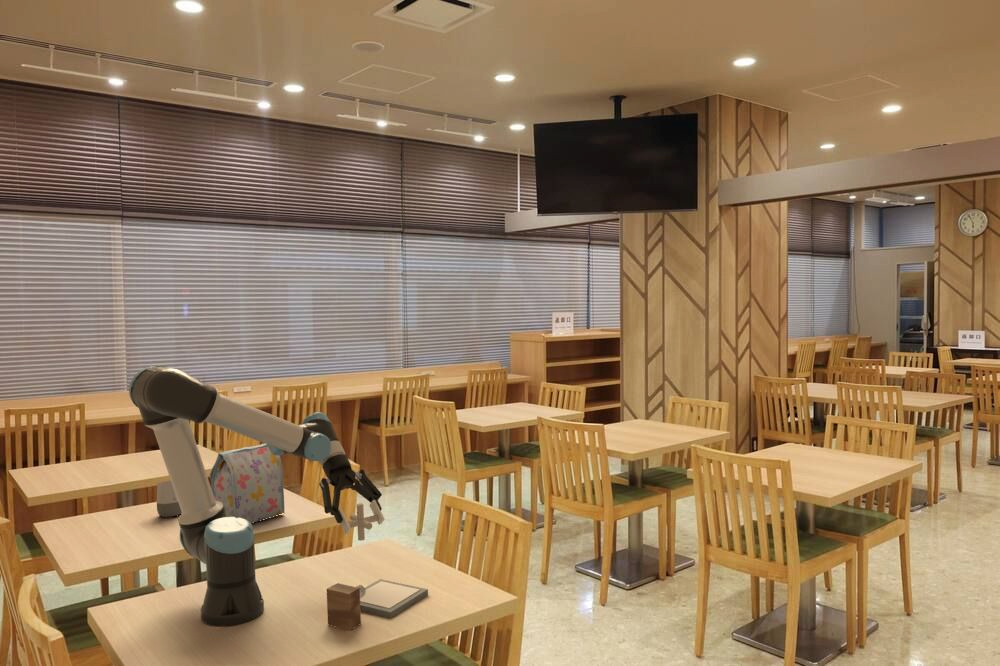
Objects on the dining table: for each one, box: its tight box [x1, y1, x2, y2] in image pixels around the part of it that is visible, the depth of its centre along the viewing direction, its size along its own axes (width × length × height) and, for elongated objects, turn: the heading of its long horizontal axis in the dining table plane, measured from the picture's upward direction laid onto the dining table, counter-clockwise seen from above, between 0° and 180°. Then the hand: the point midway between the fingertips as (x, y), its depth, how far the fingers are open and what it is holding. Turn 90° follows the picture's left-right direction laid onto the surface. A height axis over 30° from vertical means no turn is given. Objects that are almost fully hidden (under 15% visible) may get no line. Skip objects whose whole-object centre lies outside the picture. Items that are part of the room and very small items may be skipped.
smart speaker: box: [156, 479, 182, 518], centre depth 281 cm, size 10×9×14 cm
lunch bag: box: [209, 443, 285, 524], centre depth 273 cm, size 22×17×26 cm
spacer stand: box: [326, 578, 429, 631], centre depth 194 cm, size 26×16×9 cm, turn 150°
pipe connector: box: [348, 502, 378, 541], centre depth 210 cm, size 10×10×10 cm
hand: (365, 526), depth 208 cm, fingers closed on pipe connector, 10 cm apart
